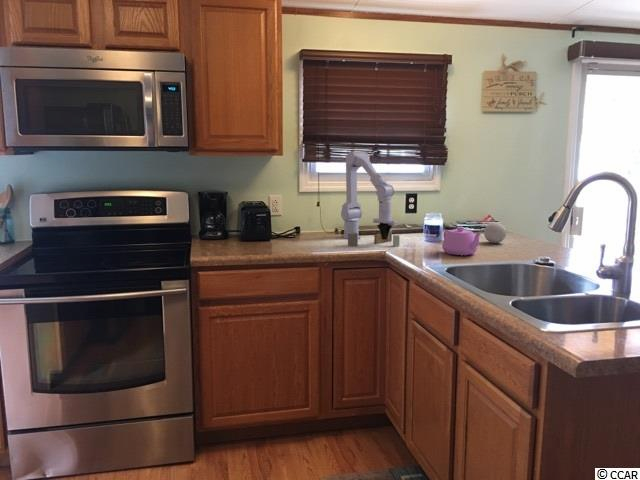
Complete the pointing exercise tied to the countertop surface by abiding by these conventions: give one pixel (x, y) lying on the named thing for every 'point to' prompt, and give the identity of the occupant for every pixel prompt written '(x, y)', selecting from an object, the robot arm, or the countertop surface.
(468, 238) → the teapot
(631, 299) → the countertop surface
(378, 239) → the door
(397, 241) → the stop wall
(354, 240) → the block
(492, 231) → the ball
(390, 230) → the hinge post
